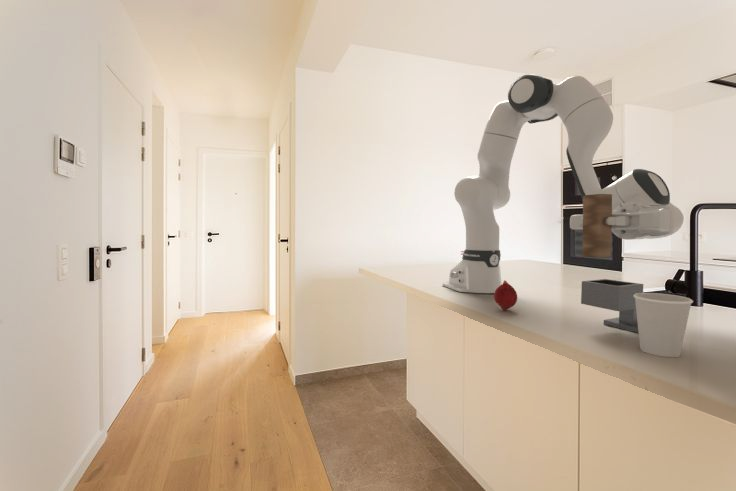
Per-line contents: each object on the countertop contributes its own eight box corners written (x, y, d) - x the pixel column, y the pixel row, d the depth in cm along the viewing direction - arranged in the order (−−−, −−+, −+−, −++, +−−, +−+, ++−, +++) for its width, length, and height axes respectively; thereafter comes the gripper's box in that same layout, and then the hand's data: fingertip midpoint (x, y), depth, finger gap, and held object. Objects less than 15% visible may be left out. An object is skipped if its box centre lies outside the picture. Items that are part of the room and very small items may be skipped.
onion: (520, 310, 99) (520, 280, 99) (512, 313, 95) (512, 283, 94) (498, 306, 103) (499, 278, 102) (490, 310, 99) (490, 280, 98)
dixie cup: (667, 344, 70) (669, 292, 70) (703, 360, 62) (706, 302, 62) (621, 343, 71) (623, 292, 71) (650, 359, 63) (653, 301, 62)
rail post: (582, 256, 85) (583, 195, 84) (593, 255, 86) (594, 195, 86) (599, 257, 81) (600, 193, 80) (611, 256, 83) (612, 194, 82)
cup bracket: (580, 328, 82) (581, 281, 81) (619, 321, 87) (621, 277, 87) (617, 338, 74) (619, 286, 74) (657, 330, 80) (660, 282, 80)
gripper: (590, 210, 98) (554, 209, 92) (682, 205, 79) (644, 204, 74) (589, 233, 98) (553, 234, 92) (681, 234, 80) (643, 236, 74)
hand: (594, 221), depth 83 cm, fingers closed on rail post, 4 cm apart
